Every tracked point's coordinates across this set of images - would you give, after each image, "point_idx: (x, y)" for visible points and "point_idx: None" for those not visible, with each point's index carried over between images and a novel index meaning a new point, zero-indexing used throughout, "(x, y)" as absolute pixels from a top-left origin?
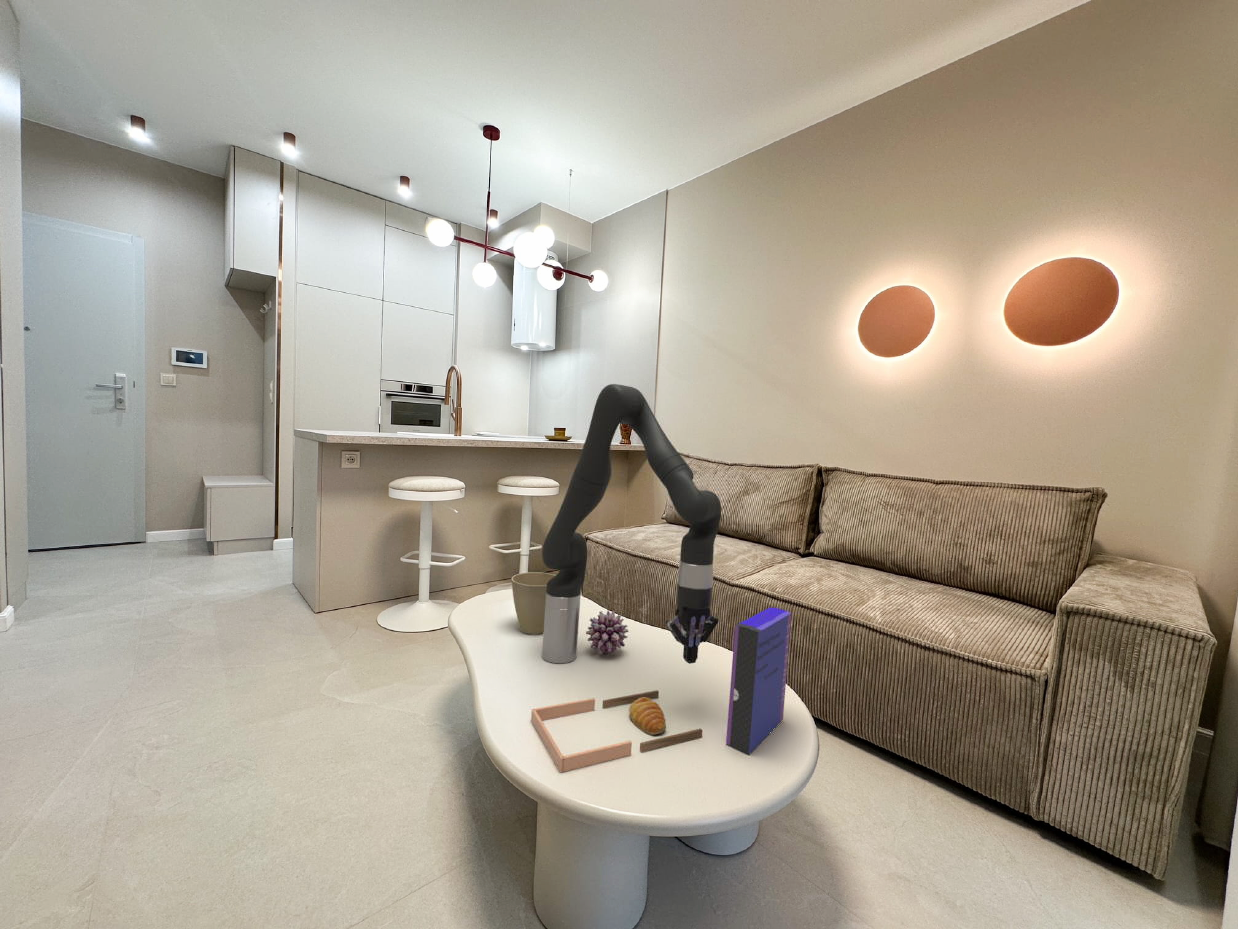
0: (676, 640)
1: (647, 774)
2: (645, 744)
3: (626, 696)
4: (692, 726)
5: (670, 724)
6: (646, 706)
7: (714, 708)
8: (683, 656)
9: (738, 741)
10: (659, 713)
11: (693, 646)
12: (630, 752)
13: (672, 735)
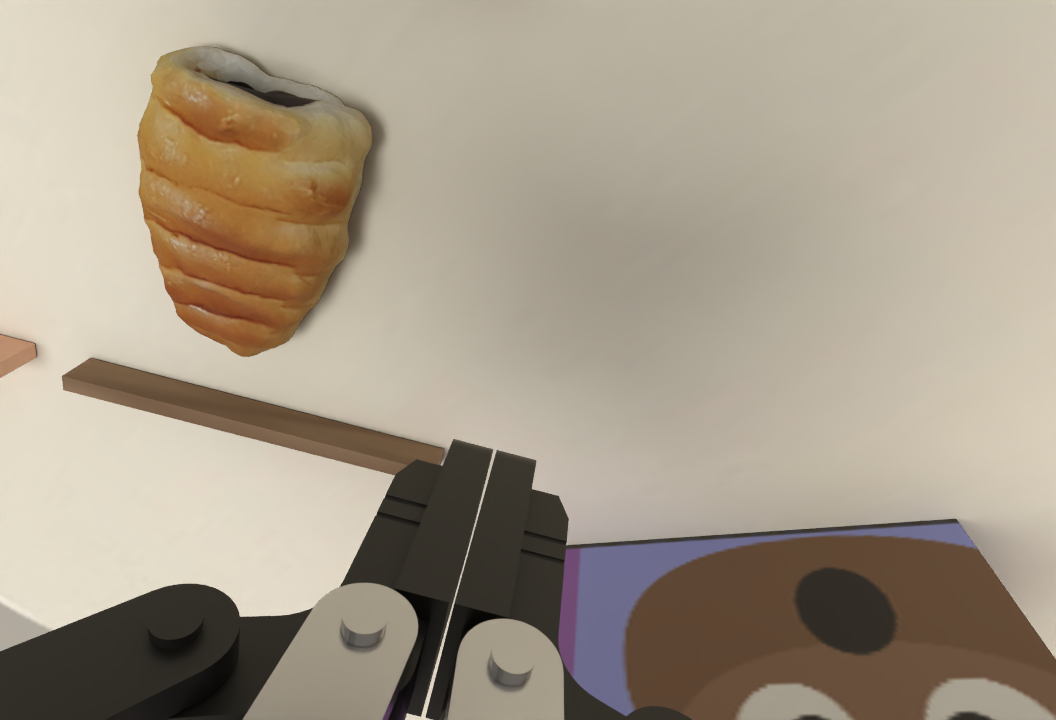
0: (149, 600)
1: (56, 474)
2: (87, 393)
3: None
4: (476, 376)
5: (376, 292)
6: (190, 216)
7: (765, 335)
8: (394, 483)
9: None
10: (262, 294)
11: (431, 704)
12: (22, 361)
13: (252, 428)
